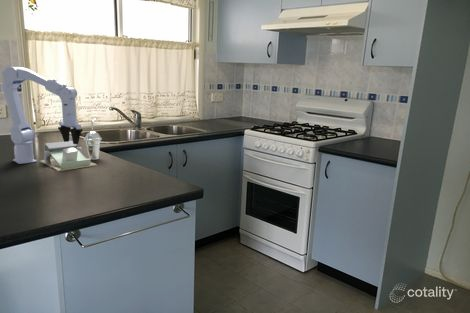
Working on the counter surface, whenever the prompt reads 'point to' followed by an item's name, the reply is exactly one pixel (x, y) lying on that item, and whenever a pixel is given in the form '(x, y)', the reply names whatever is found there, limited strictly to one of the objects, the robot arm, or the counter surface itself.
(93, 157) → the cup with straw
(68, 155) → the white rectangular block
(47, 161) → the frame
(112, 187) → the counter surface
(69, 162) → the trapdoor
